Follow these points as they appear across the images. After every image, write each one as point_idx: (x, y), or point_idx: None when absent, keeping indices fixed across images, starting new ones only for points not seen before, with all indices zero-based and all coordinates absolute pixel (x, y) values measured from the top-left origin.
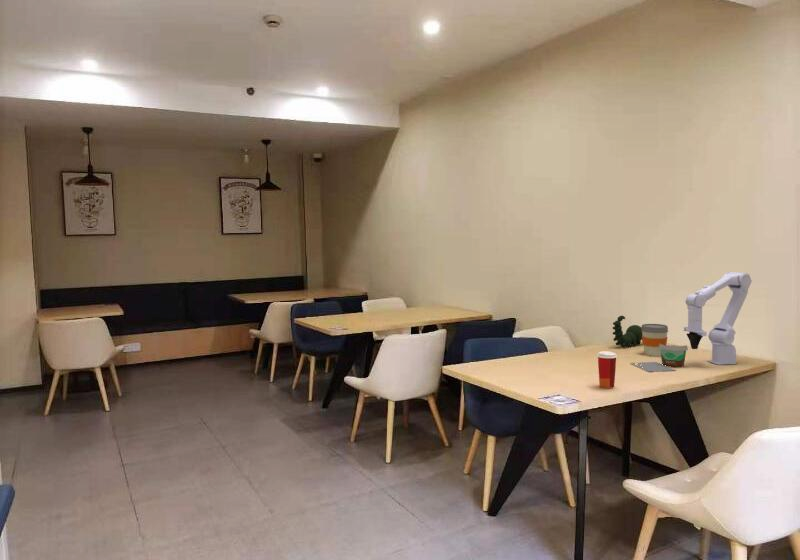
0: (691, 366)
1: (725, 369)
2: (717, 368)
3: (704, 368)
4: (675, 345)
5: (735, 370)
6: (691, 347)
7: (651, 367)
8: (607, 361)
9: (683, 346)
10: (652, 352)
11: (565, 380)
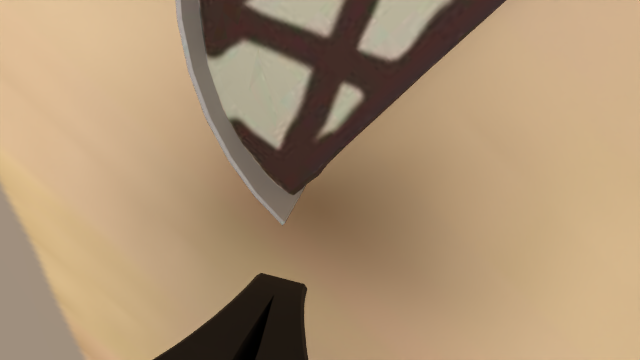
0: None
1: (120, 294)
2: (164, 271)
3: (190, 178)
4: (450, 37)
5: (79, 325)
6: (298, 292)
7: None
8: None
9: (187, 52)
10: None
11: None
